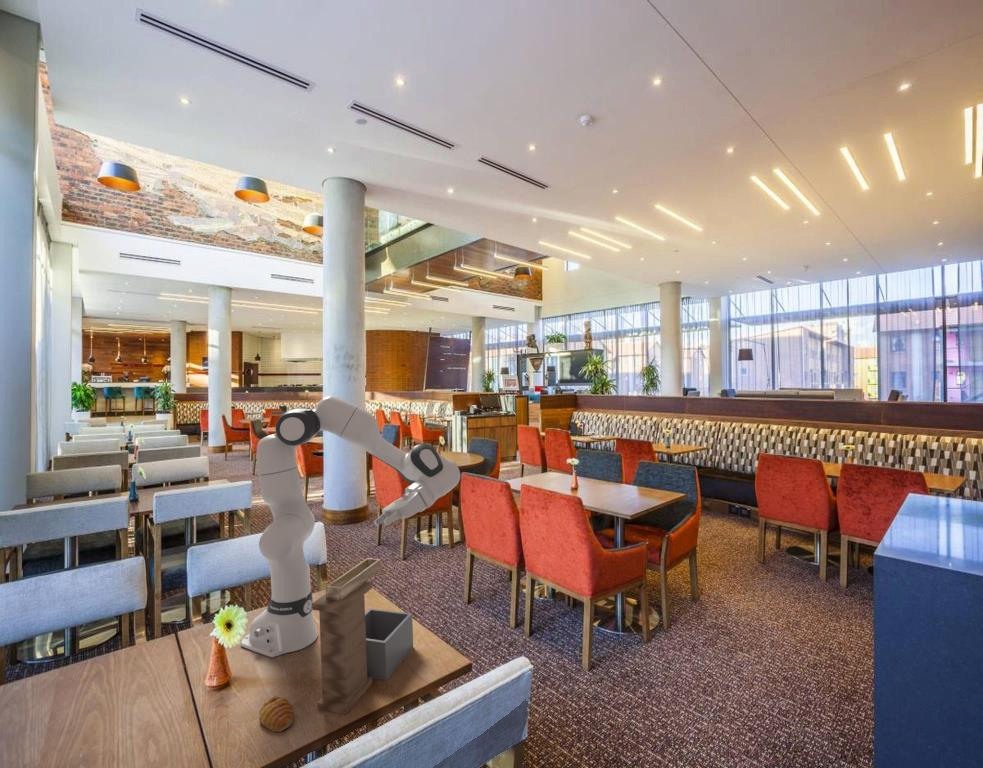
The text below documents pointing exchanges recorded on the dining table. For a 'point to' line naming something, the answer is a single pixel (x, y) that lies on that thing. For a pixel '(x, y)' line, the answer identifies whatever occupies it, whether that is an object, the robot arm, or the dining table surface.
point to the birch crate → (353, 579)
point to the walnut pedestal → (343, 650)
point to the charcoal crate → (387, 641)
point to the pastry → (276, 714)
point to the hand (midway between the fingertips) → (380, 523)
